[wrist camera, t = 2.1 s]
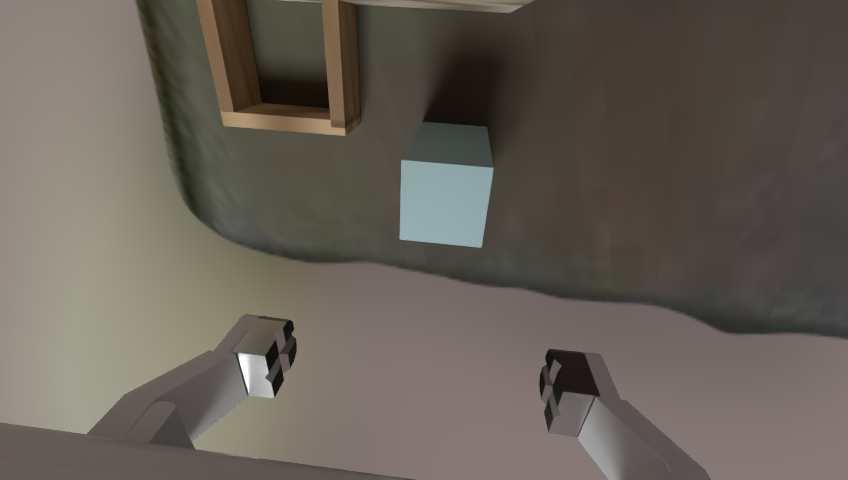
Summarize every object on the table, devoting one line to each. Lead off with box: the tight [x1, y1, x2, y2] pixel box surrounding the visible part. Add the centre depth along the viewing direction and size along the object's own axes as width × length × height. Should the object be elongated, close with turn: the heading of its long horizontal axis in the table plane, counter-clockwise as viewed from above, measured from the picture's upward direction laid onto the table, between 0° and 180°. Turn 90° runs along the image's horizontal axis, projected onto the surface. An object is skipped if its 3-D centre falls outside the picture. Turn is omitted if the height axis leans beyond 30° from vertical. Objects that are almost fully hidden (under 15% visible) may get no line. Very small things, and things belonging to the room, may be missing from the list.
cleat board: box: [196, 0, 534, 136], centre depth 21 cm, size 24×10×14 cm, turn 87°
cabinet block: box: [400, 122, 494, 248], centre depth 25 cm, size 5×6×10 cm
